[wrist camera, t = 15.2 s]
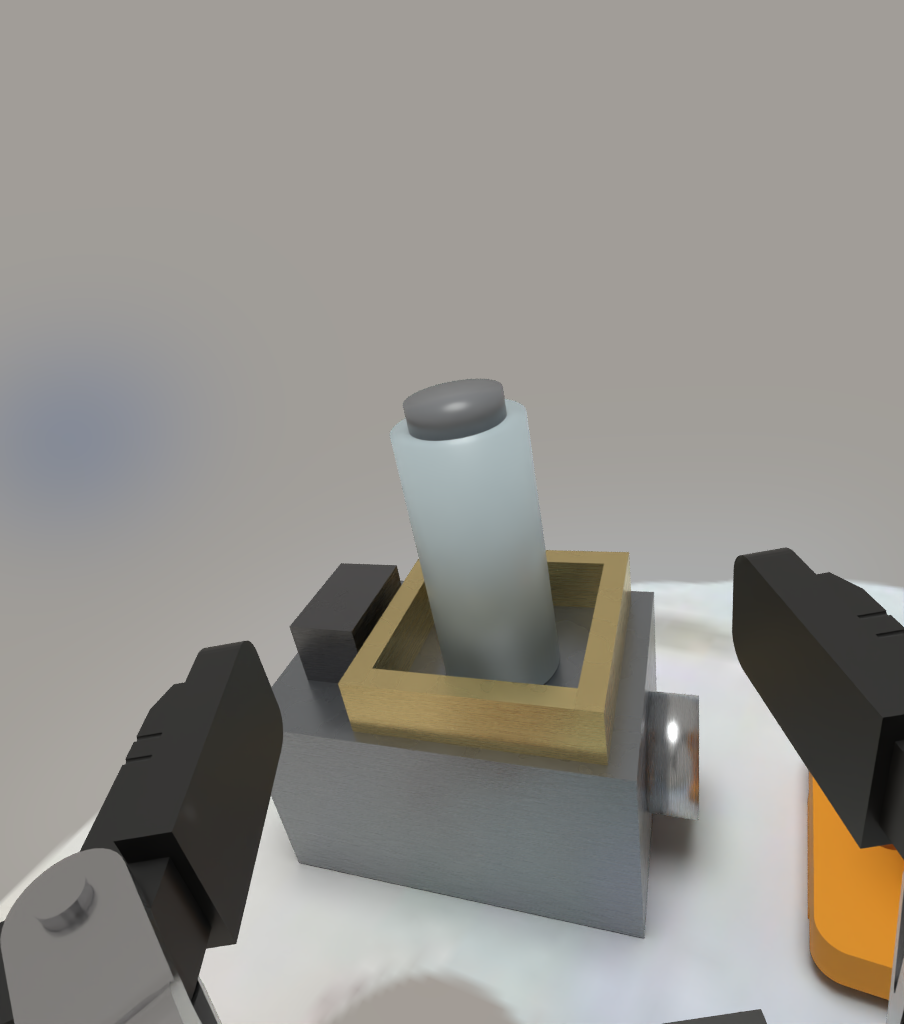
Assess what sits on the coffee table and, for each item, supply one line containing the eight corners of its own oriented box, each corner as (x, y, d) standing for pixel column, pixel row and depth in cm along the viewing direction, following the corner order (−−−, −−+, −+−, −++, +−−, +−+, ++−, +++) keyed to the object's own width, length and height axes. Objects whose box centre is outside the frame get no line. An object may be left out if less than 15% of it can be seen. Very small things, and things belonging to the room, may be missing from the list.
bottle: (567, 625, 30) (534, 367, 25) (549, 704, 26) (505, 414, 21) (463, 621, 32) (411, 379, 26) (430, 695, 27) (361, 425, 22)
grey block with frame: (697, 735, 35) (699, 538, 29) (698, 950, 26) (700, 723, 20) (387, 699, 41) (341, 532, 35) (298, 862, 32) (219, 670, 26)
